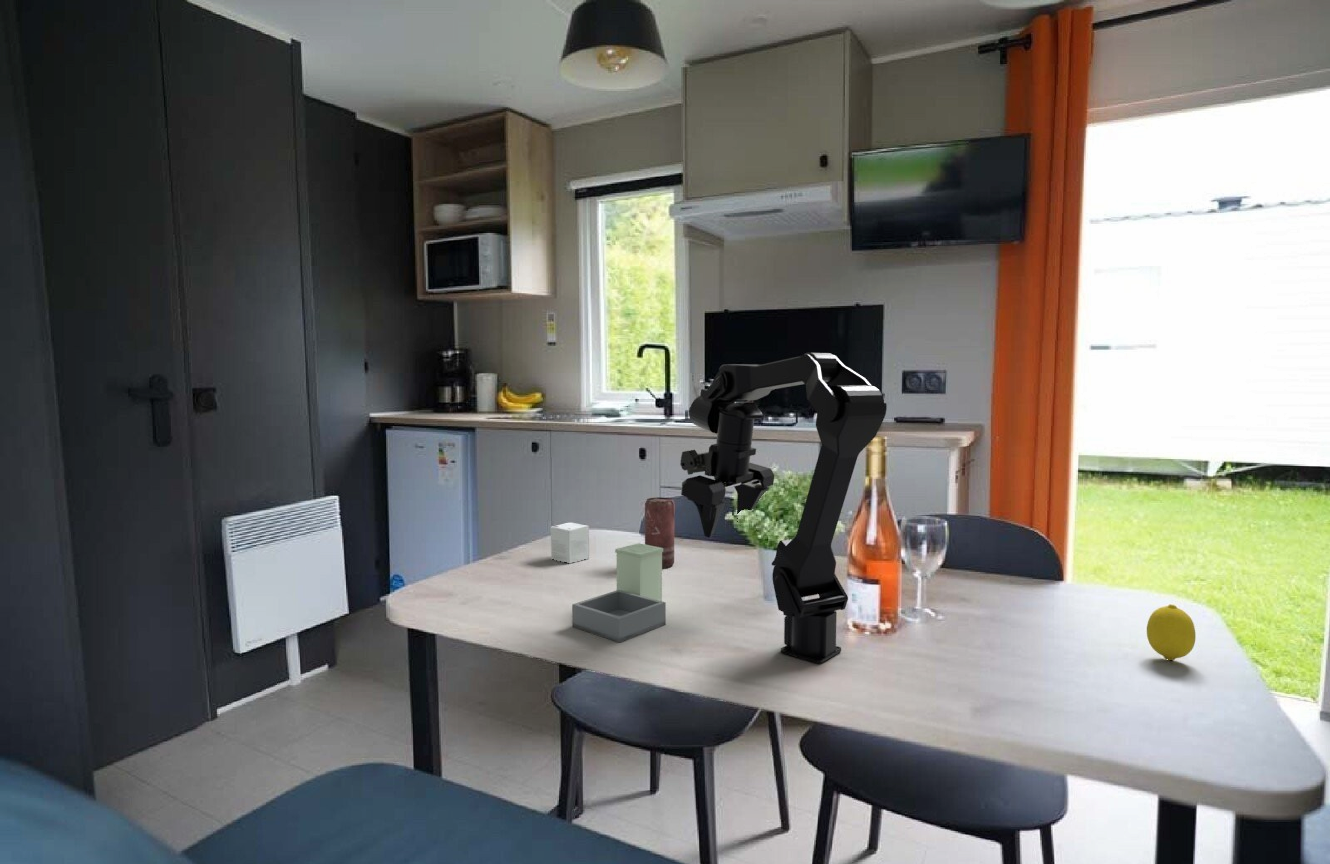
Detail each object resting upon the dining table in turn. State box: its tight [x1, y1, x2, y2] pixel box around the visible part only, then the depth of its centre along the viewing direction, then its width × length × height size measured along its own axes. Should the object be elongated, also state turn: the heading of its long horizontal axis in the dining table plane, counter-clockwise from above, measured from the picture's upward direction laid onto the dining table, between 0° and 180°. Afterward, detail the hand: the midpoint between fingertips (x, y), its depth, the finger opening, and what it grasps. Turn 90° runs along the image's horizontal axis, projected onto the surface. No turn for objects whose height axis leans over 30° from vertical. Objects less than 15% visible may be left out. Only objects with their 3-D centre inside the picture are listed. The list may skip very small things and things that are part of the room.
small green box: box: [614, 542, 663, 602], centre depth 124 cm, size 6×6×10 cm
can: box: [644, 496, 676, 570], centre depth 151 cm, size 6×6×14 cm
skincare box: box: [550, 522, 591, 564], centre depth 156 cm, size 6×6×7 cm
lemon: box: [1146, 603, 1196, 661], centre depth 100 cm, size 6×6×8 cm
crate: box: [571, 589, 667, 644], centre depth 114 cm, size 10×10×4 cm
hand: (724, 530), depth 121 cm, fingers open, 9 cm apart
